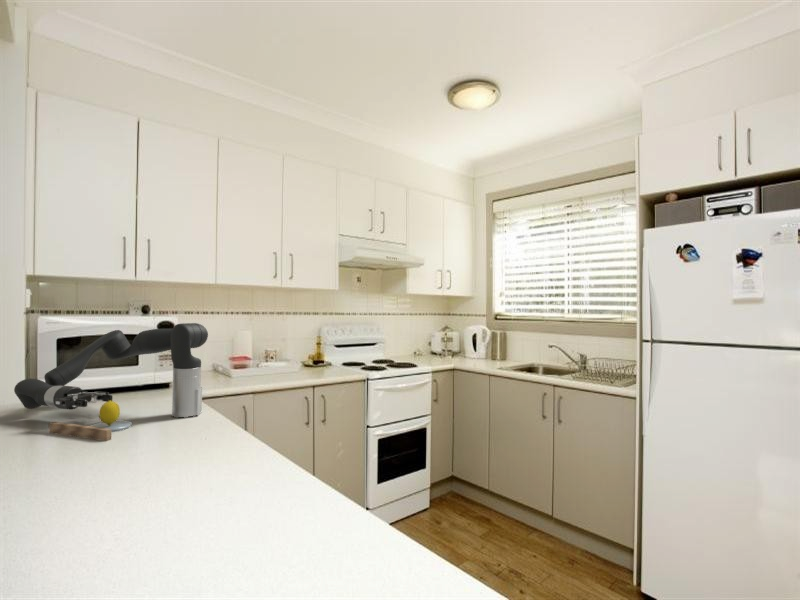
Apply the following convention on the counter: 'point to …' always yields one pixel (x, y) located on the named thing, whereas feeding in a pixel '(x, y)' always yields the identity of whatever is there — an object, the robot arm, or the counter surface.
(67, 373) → the robot arm
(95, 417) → the counter surface
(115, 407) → the lemon
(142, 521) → the counter surface
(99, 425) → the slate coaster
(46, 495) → the counter surface
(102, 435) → the walnut wall
